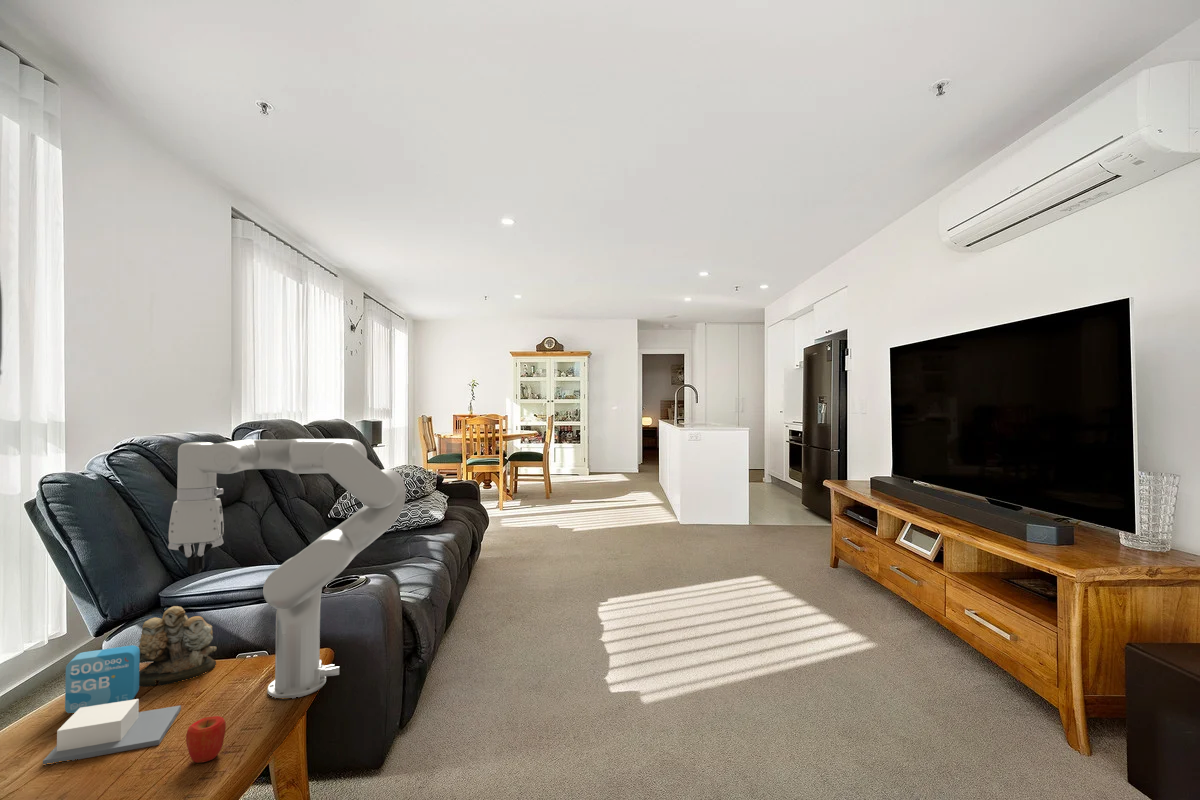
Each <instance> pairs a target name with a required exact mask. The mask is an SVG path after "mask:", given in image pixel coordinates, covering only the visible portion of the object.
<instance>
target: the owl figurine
mask: <svg viewBox="0 0 1200 800" xmlns="http://www.w3.org/2000/svg"><path fill="white" fill-rule="evenodd" d="M213 632H214V631H213V626H212V624H210V623H208V622H207V621H206V620H204V617H202V616H200V615H195V616H192V617H188V615H187V614H186V611H185V609H184V608H183V607H182V606H178V605H173V606H171V607H169V608H167V609H166V610H165V611H164V612H163V615H162V618H160V617H151V618H149V619H148V620H146V621H144V622H143V624H142V629H141V635H140V638H139V639H138V642H139V644H138V648H139V650H140V663H141V664H142V663H149V662H150V663H149V664H148V665H146V667H143V668H142V669H140V670H139V687H150V686H152V687H154V686H156V685H159V686H165V685H172V684H175V683H174V682H176V683H179V682H178V681H181V682H183V681H182V680H185V681H187V680H186V679H188V680H191V679H190V678H192V679H194V678H193V677H195V678H197V677H196V676H198V677H200V676H199V675H201V674H203V673H205V672H207V671H208V672H209V671H210V670H211V669H212V668H214V669H215V668H216V666H217V662H216V659H214V658H212V657H211V656H209V655H211V654H213V653H215V652H216V651H217V646H211V645H210V644H211V643H212V641H213V638H214V637H213V636H214V635H213ZM215 665H216V666H215ZM212 670H213V669H212ZM212 670H211V671H212ZM208 672H207V673H208ZM205 674H206V673H205ZM203 675H204V674H203ZM201 676H202V675H201ZM157 681H158V683H157Z"/></svg>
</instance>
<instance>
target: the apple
mask: <svg viewBox="0 0 1200 800" xmlns="http://www.w3.org/2000/svg"><path fill="white" fill-rule="evenodd" d="M226 728H227V723H226V721H225V719H224V717H222V716H220V715H215V716H206V717H203V718H202V717H201V718H200V719H198V720H197V721H196V722H194V723H192V724H191V725H189V726H188V728H187V732H186V736H185V743H186V748H187V751H188V753H189V757H190V759H191V760H192V761H193V762H194V763H197V764H199V763H200V764H201V763H205V762H209V761H212V760H214V759H215V758H216V757H217V756H218V754H219V753H220V752H221V750H222V747H223V744H224V740H225V734H226V730H227V729H226Z"/></svg>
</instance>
